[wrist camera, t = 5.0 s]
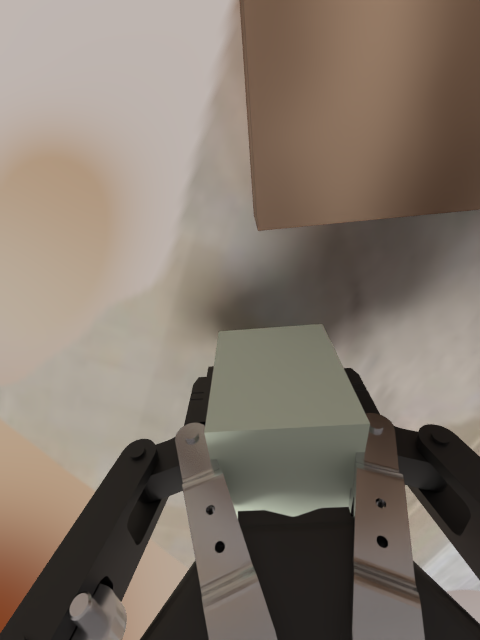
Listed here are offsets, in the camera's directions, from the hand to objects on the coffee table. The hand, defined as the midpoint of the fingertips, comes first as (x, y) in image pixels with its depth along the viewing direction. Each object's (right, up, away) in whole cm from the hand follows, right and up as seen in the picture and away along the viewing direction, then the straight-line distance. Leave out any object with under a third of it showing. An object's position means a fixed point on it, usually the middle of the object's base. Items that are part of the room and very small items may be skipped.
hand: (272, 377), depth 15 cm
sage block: (0, 0, +1) cm, 1 cm away
